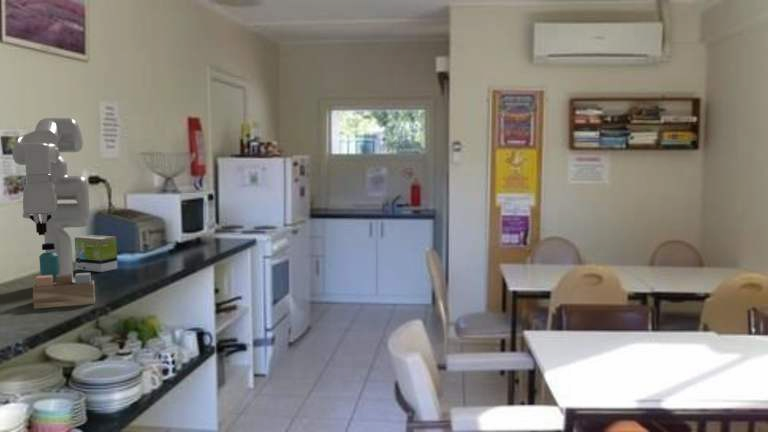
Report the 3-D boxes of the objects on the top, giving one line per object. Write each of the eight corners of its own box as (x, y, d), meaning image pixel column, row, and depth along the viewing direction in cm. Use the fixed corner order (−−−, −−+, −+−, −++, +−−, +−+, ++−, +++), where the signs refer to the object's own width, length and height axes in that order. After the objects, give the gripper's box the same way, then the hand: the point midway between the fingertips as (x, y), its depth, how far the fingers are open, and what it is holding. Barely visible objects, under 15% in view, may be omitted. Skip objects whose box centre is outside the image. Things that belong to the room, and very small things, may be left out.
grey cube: (76, 287, 243) (76, 273, 243) (91, 286, 245) (90, 272, 244) (75, 290, 239) (75, 275, 238) (90, 289, 240) (89, 274, 240)
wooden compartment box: (36, 304, 240) (35, 284, 240) (95, 300, 246) (94, 280, 246) (33, 308, 234) (32, 287, 233) (94, 303, 240) (93, 283, 239)
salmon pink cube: (38, 290, 239) (37, 275, 239) (53, 289, 241) (52, 274, 240) (36, 292, 235) (35, 278, 234) (51, 291, 236) (51, 277, 236)
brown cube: (57, 289, 241) (57, 274, 241) (72, 288, 243) (71, 273, 242) (56, 291, 237) (55, 276, 236) (71, 290, 238) (70, 275, 238)
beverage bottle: (53, 301, 245) (50, 244, 243) (36, 300, 246) (33, 244, 244) (65, 297, 251) (62, 242, 249) (49, 297, 252) (46, 241, 250)
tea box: (75, 270, 309) (73, 237, 307) (92, 266, 318) (90, 234, 316) (101, 272, 303) (100, 238, 302) (118, 268, 312) (117, 235, 311)
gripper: (64, 179, 240) (67, 232, 242) (15, 180, 235) (18, 234, 237) (62, 179, 233) (65, 234, 234) (11, 180, 228) (15, 237, 230)
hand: (41, 234), depth 236 cm, fingers closed
